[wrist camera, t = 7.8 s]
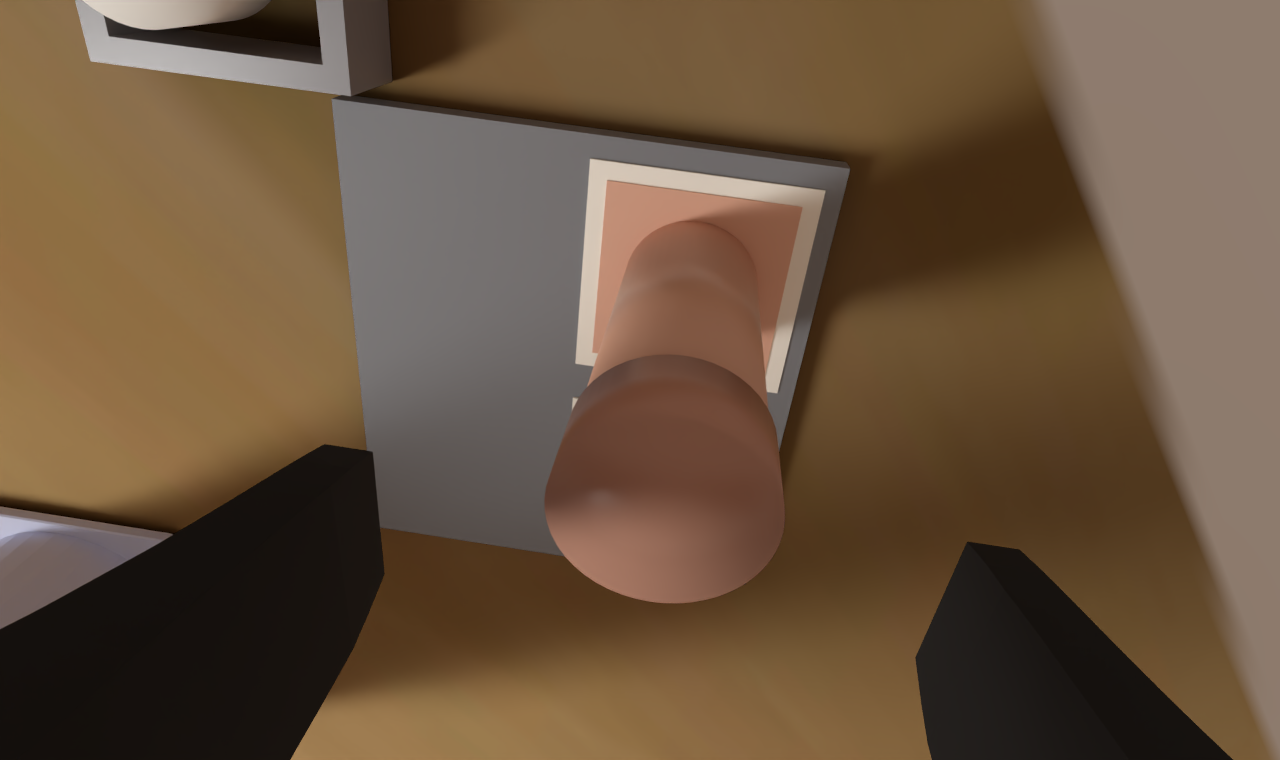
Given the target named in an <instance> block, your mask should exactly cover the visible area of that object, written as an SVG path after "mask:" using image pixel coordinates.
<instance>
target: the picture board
mask: <svg viewBox="0 0 1280 760" xmlns="http://www.w3.org/2000/svg"><path fill="white" fill-rule="evenodd" d="M332 108H333V118H334V128H335V137H336V147H337V157H338V167H339V177H340V187H341V197H342V207H343V217H344V227H345V237H346V247H347V257H348V267H349V277H350V287H351V297H352V307H353V316H354V326H355V336H356V346H357V356H358V366H359V376H360V386H361V396H362V406H363V416H364V426H365V436H366V446H367V451H372V452H373V458H374V469H375V479H376V490H377V501H378V511H379V522H380V528H387V529H393V530H400V531H406V532H412V533H419V534H425V535H431V536H438V537H444V538H451V539H457V540H463V541H470V542H476V543H483V544H489V545H495V546H502V547H508V548H514V549H521V550H527V551H534V552H540V553H546V554H553V555H559V556H564V554H563V553H562V552H561V550H560V549H559V547H558V546H557V544H556V542H555V541H554V539H553V537H552V535H551V532H550V530H549V527H548V524H547V520H546V515H545V503H544V498H545V491H546V485H547V482H548V479H549V476H550V473H551V470H552V467H553V464H554V461H555V459H556V456H557V453H558V450H559V447H560V444H561V441H562V438H563V435H564V433H565V430H566V427H567V424H568V421H569V418H570V415H571V412H572V410H573V408H574V406H575V404H576V402H577V400H578V398H579V397H580V395H581V394H582V393H583V391H584V390H585V389H586V388H587V385H588V382H589V379H590V376H591V373H592V370H593V367H594V364H595V361H596V358H597V355H598V352H599V349H600V346H601V343H602V340H603V337H604V334H605V331H606V328H607V325H608V322H609V319H610V316H611V313H612V310H613V307H614V304H615V301H616V298H617V295H618V292H619V289H620V286H621V283H622V279H623V276H624V273H625V270H626V267H627V264H628V261H629V259H630V257H631V255H632V253H633V251H634V250H635V248H636V247H637V245H638V244H639V243H640V242H641V241H642V240H643V239H644V238H645V237H646V236H648V235H649V234H650V233H652V232H653V231H655V230H656V229H658V228H661V227H663V226H665V225H668V224H671V223H675V222H681V221H700V222H705V223H710V224H712V225H715V226H718V227H720V228H722V229H724V230H726V231H727V232H729V233H730V234H732V235H733V236H734V237H735V238H737V239H738V240H739V241H740V242H741V243H742V245H743V246H744V247H745V248H746V250H747V251H748V253H749V255H750V257H751V259H752V261H753V264H754V267H755V270H756V277H757V287H758V299H759V310H760V321H761V333H762V344H763V356H764V367H765V378H766V390H767V401H768V410H769V412H770V414H771V416H772V418H773V421H774V424H775V427H776V432H777V439H778V447H779V450H780V446H781V442H782V438H783V434H784V430H785V426H786V422H787V418H788V414H789V410H790V406H791V402H792V398H793V394H794V390H795V386H796V382H797V378H798V374H799V370H800V366H801V362H802V359H803V355H804V351H805V347H806V343H807V339H808V335H809V331H810V327H811V323H812V319H813V315H814V311H815V307H816V303H817V299H818V295H819V291H820V287H821V283H822V279H823V275H824V271H825V267H826V263H827V259H828V255H829V252H830V248H831V244H832V240H833V236H834V232H835V228H836V224H837V220H838V216H839V212H840V208H841V204H842V200H843V196H844V192H845V188H846V184H847V180H848V176H849V172H850V167H849V166H848V164H847V162H842V161H835V160H828V159H820V158H813V157H805V156H798V155H791V154H783V153H776V152H768V151H761V150H753V149H746V148H739V147H731V146H724V145H716V144H709V143H702V142H694V141H687V140H679V139H672V138H664V137H657V136H650V135H642V134H635V133H627V132H620V131H612V130H605V129H598V128H590V127H583V126H575V125H568V124H561V123H553V122H546V121H538V120H531V119H523V118H516V117H509V116H501V115H494V114H486V113H479V112H472V111H464V110H457V109H449V108H442V107H434V106H427V105H420V104H412V103H405V102H397V101H390V100H382V99H375V98H368V97H360V96H345V95H341V96H338V97H335V98H333V99H332ZM745 584H746V583H745ZM745 584H744V585H745Z"/></svg>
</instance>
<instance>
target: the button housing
mask: <svg viewBox="0 0 1280 760" xmlns="http://www.w3.org/2000/svg"><path fill="white" fill-rule="evenodd" d="M75 1H76V5H77V9H78V13H79V17H80V21H81V25H82V29H83V33H84V37H85V41H86V45H87V49H88V53H89V57H90V61H93V62H100V63H108V64H115V65H122V66H130V67H137V68H145V69H152V70H160V71H167V72H174V73H182V74H189V75H197V76H204V77H211V78H219V79H226V80H234V81H241V82H248V83H256V84H263V85H271V86H278V87H286V88H293V89H300V90H308V91H315V92H323V93H330V94H337V95H345V96H353V95H356V94H359V93H362V92H364V91H367V90H370V89H373V88H376V87H378V86H381V85H384V84H387V83H390V82H392V67H391V51H390V34H389V17H388V1H387V0H316V5H317V15H318V24H319V34H320V44H321V47H316V46H308V45H301V44H293V43H285V42H278V41H270V40H263V39H255V38H248V37H240V36H233V35H225V34H218V33H210V32H202V31H195V30H187V29H180V28H170V29H160V30H147V29H140V28H135V27H130V26H127V25H124V24H122V23H119V22H116V21H114V20H112V19H110V18H108V17H106V16H104V15H103V14H101V13H99V12H98V11H96V10H95V9H93V8H92V7H90V6H89V5H88V4H86V3H85V2H84V1H83V0H75Z"/></svg>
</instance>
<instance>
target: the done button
mask: <svg viewBox="0 0 1280 760" xmlns="http://www.w3.org/2000/svg"><path fill="white" fill-rule="evenodd" d="M83 1H84V2H85V3H86V4H88V5H89V6H90V7H92V8H93V9H95V10H96V11H98V12H99V13H101V14H103V15H104V16H106V17H108V18H110V19H112V20H114V21H116V22H119V23H122V24H124V25H127V26H130V27H135V28H140V29H147V30H160V29H170V28H178V27H186V26H195V25H203V24H211V23H220V22H228V21H236V20H241V19H244V18H247V17H250V16H252V15H254V14H256V13H257V12H259V11H260V10H262V9H263V8H264V7H265V6H266V5H267V4H268V3H269V2H270V1H271V0H83Z"/></svg>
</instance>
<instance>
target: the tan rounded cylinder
mask: <svg viewBox="0 0 1280 760" xmlns="http://www.w3.org/2000/svg"><path fill="white" fill-rule="evenodd" d="M544 503H545V515H546V520H547V524H548V527H549V530H550V532H551V535H552V537H553V539H554V541H555V542H556V544H557V546H558V547H559V549H560V550H561V552H562V553H563V554H564V556H565V557H566V558H567V559H568V560H569V561H570V562H571V563H572V564H573V566H575V567H576V568H577V569H578V570H579V571H581V572H582V573H583V574H584V575H586V576H587V577H588V578H590V579H591V580H593V581H594V582H596V583H598V584H600V585H602V586H603V587H605V588H607V589H609V590H612V591H614V592H617V593H619V594H622V595H625V596H628V597H631V598H635V599H639V600H644V601H649V602H658V603H689V602H696V601H702V600H707V599H711V598H714V597H718V596H721V595H723V594H726V593H728V592H731V591H733V590H735V589H737V588H738V587H740V586H742V585H744V584H745V583H747V582H748V581H750V580H751V579H752V578H754V577H755V576H756V575H757V574H758V573H759V572H760V571H761V570H763V569H764V568H765V566H766V565H767V564H768V563H769V561H770V560H771V559H772V557H773V556H774V554H775V552H776V550H777V549H778V547H779V544H780V541H781V539H782V536H783V531H784V525H785V506H784V496H783V487H782V477H781V467H780V457H779V447H778V439H777V432H776V427H775V424H774V421H773V418H772V416H771V414H770V412H769V410H768V401H767V390H766V378H765V367H764V356H763V344H762V333H761V321H760V310H759V299H758V287H757V277H756V270H755V267H754V264H753V261H752V259H751V257H750V255H749V253H748V251H747V250H746V248H745V247H744V246H743V245H742V243H741V242H740V241H739V240H738V239H737V238H735V237H734V236H733V235H732V234H730V233H729V232H727V231H726V230H724V229H722V228H720V227H718V226H715V225H712V224H710V223H705V222H700V221H681V222H675V223H671V224H668V225H665V226H663V227H661V228H658V229H656V230H655V231H653V232H652V233H650V234H649V235H648V236H646V237H645V238H644V239H643V240H642V241H641V242H640V243H639V244H638V245H637V247H636V248H635V250H634V251H633V253H632V255H631V257H630V259H629V261H628V264H627V267H626V270H625V273H624V276H623V279H622V283H621V286H620V289H619V292H618V295H617V298H616V301H615V304H614V307H613V310H612V313H611V316H610V319H609V322H608V325H607V328H606V331H605V334H604V337H603V340H602V343H601V346H600V349H599V352H598V355H597V358H596V361H595V364H594V367H593V370H592V373H591V376H590V379H589V382H588V385H587V388H586V389H585V390H584V391H583V393H582V394H581V395H580V397H579V398H578V400H577V402H576V404H575V406H574V408H573V410H572V412H571V415H570V418H569V421H568V424H567V427H566V430H565V433H564V435H563V438H562V441H561V444H560V447H559V450H558V453H557V456H556V459H555V461H554V464H553V467H552V470H551V473H550V476H549V479H548V482H547V485H546V491H545V498H544Z"/></svg>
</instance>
